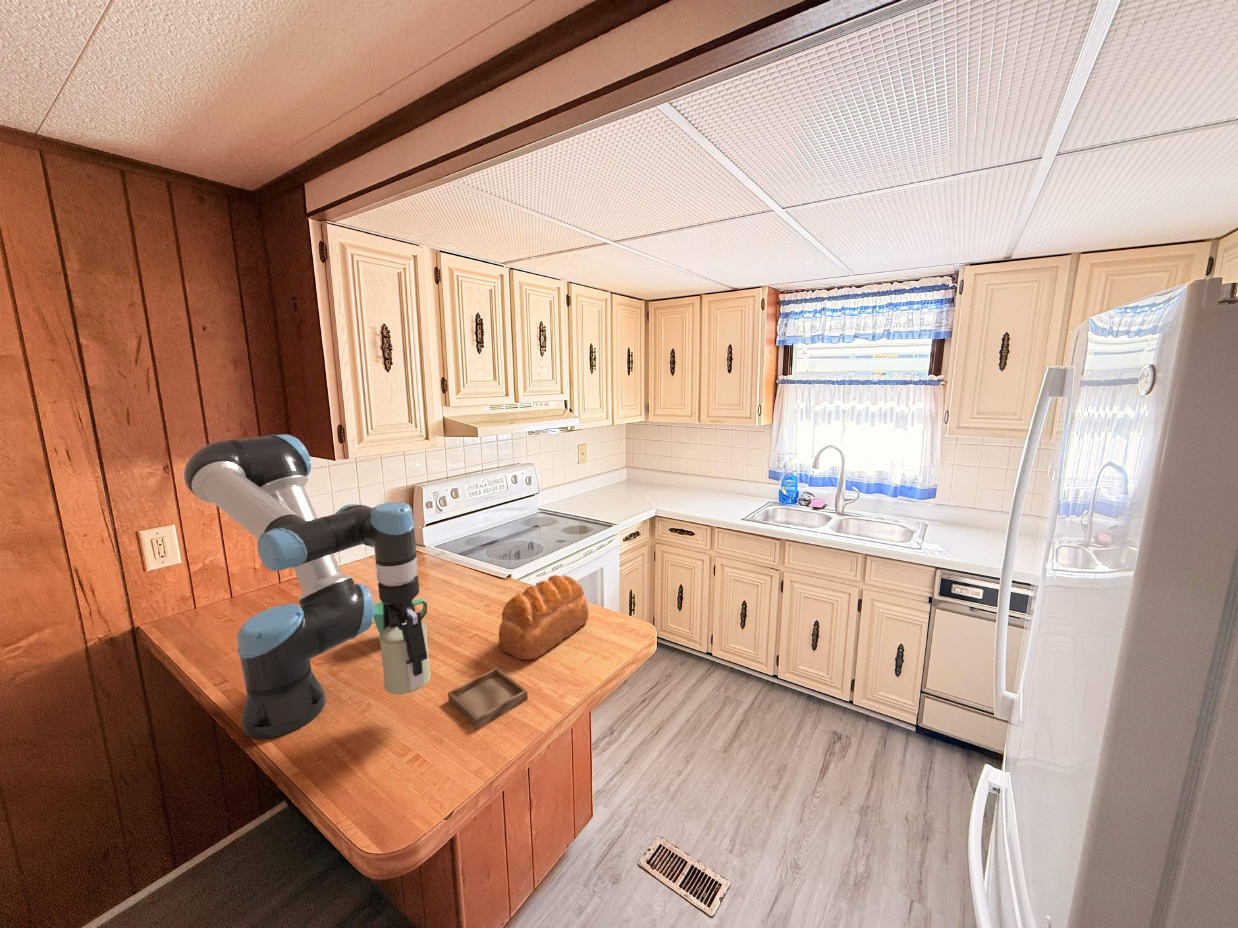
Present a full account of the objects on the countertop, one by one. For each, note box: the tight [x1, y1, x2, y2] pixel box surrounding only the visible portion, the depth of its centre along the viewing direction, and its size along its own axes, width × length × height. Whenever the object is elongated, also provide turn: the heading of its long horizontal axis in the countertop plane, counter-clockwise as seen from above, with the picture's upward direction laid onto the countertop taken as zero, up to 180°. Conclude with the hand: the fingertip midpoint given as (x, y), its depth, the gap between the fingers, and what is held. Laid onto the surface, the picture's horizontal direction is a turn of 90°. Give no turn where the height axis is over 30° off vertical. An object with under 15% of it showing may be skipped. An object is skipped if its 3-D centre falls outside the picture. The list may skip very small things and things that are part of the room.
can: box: [378, 621, 432, 695], centre depth 102 cm, size 9×9×12 cm
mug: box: [373, 597, 428, 634], centre depth 136 cm, size 15×10×10 cm
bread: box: [498, 574, 589, 661], centre depth 135 cm, size 14×26×16 cm, turn 146°
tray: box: [447, 667, 528, 730], centre depth 109 cm, size 13×13×2 cm
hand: (407, 675), depth 103 cm, fingers closed on can, 9 cm apart
